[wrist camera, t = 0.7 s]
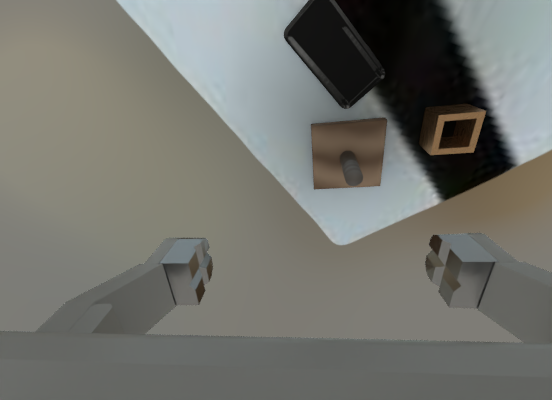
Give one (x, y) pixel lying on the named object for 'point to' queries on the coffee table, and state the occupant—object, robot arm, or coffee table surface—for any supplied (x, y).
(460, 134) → the wooden square sleeve
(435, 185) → the coffee table surface
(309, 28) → the phone
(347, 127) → the post stand
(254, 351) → the robot arm
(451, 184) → the coffee table surface
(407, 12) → the coffee table surface
